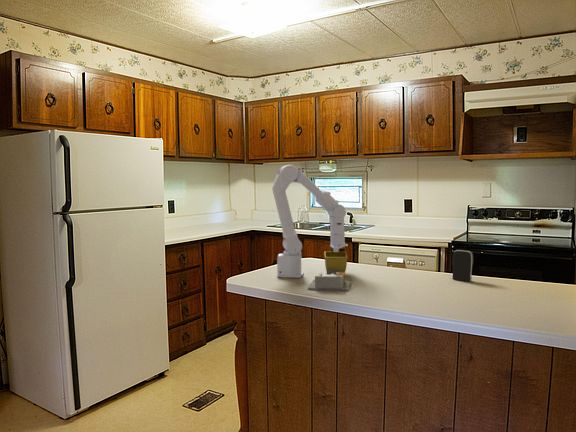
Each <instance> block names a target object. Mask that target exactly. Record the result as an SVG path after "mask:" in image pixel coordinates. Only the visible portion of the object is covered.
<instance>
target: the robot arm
mask: <svg viewBox="0 0 576 432" xmlns="http://www.w3.org/2000/svg"><path fill="white" fill-rule="evenodd" d="M291 183H297V184H301V185H302V186H303V187H304V188H305V189H306V190H307V191H308V192H310V193H311V194H312V195H313V197H315V202H316V203H317V204H318V205H319V206H321V208H322V209H324V210H325V212H327V214H328V216H330V217H329V218H330V219H329V220H330V222H329V224H330V225H329V226H330V229H329V232H330V234H329V235H330V245H329V247H330V248H331V249H330V251H333V252H339V251H346V249H345V248H344V247H348V246H349V245H348V243H346V241H345V239H346V237H345V234H346V233H345V232H346V231H345V217H346V215H347V211H346V208H345V207H344V206H343V205H342V204H339V201H340V200H337V199H335V198H334V197H333V196H332V195H331V192H330V191H326V190H321V189H320V188H319V187H318V186H317V185H316V184H315V183H314V182H313V181H312V180H311V179H310V178H309V177H308V176H307V175H306V174H305V173H304V172H303V171H302V170H300V169H298V167H296V166H295V165H293V164H287V165H283V166H281V167H280V168H279V170H278V171H277V172H276V175H275V179H274V180H273V184H272V188H271V189H272V195H273V198H274V200H275V206H276V209H277V214H278V218H279V221H280V226H281V229H282V238H283V239H282V247H283V248H284V250H283V252H282V253H278V254H277V259H276V261H277V263H276V265H277V266H276V267H277V269H276V271H277V275H276V277H278V278H296V279H297V278H298V279H300V278H301V277H303V275H304V274H305V273H304V272H303V271H302V250H303V243H302V241H301V240H300V239H299V237H298V234H297V232H296V229H295V225H294V221H293V218H292V217H293V216H292V212H291V208H290V205H289V200H288V196H287V192H286V191H287V189H288V188H289V186H290V185H291Z"/></svg>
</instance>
